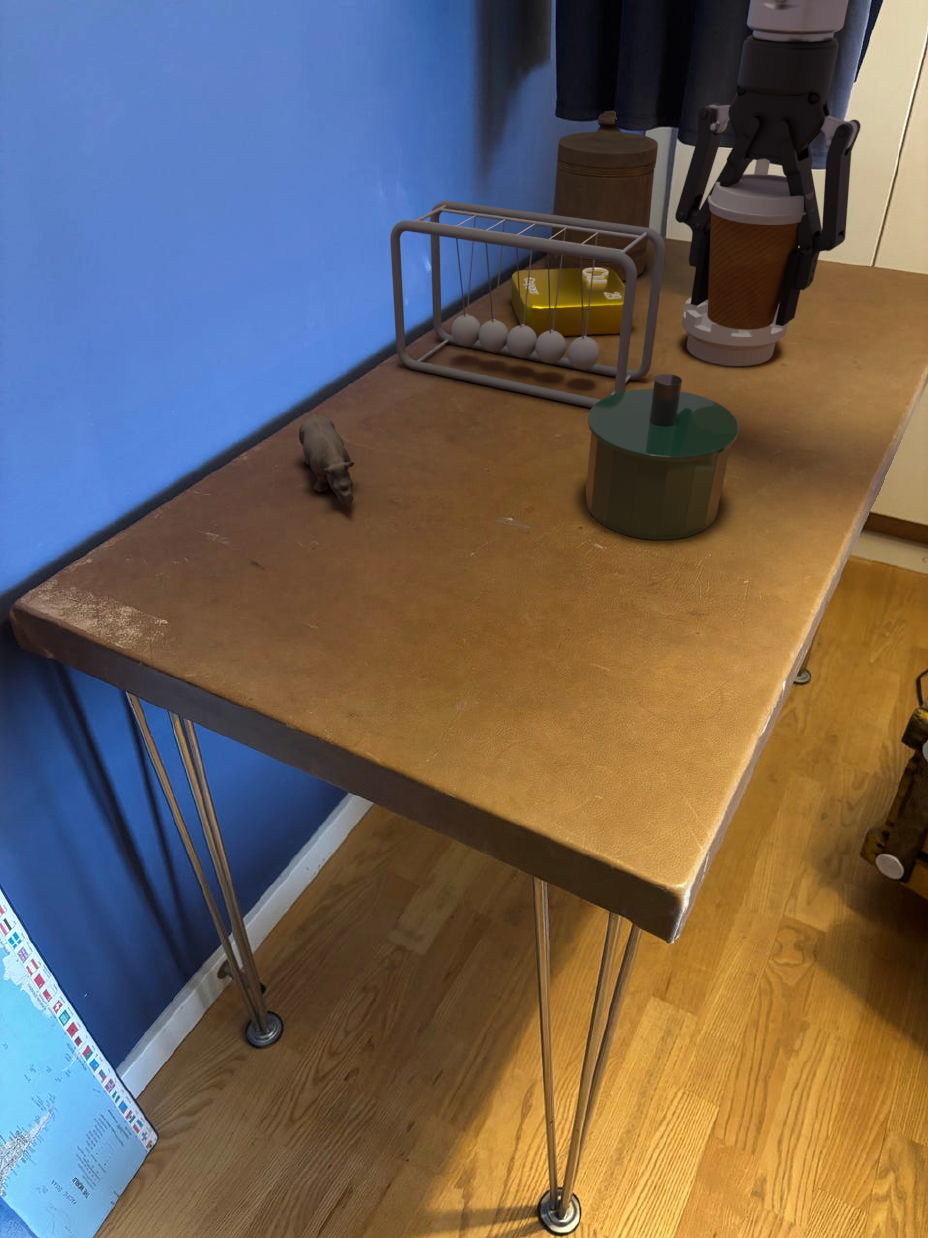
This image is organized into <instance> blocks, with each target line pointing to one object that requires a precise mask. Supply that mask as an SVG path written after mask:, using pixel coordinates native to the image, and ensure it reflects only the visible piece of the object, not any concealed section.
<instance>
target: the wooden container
mask: <svg viewBox="0 0 928 1238" xmlns="http://www.w3.org/2000/svg"><path fill="white" fill-rule="evenodd" d="M615 111H616V110H606V111H605V110H604V112H603V113H600V115H599V116H598V119H597V123H598V126H599V127H598V128H597V129H596V131H584V132H577V133H571V134H568V135H565V136H562V137H560V138H559V140H558V144H557V153H556V155H557V158H556V172H555V173H556V174H555V183H554V185H555V186H554V197H553V208H552V215H557V216H565V217H572V218H579V219H587V220H594V221H602V222H609V223H617V224H624V225H631V226H639V227H646V228H650V221H651V209H652V197H653V188H654V176H655V168H656V165H657V159H658V151H659V149H658V148H659V144H658V143H659V142H658V141H657V140H656V139H654V138H652V137H650V136H647V135H643V134H638V133H632V132H624V131H622V130H621V128H620V127H619V126H618V127H617V126H616V123H615V119H616V120H617V117H616V112H617V111H616V112H615ZM562 230H563V229H561V228H554V227H551V237H553V236H554V235H556V234H557V233H559V232H560V231H562ZM564 231H565V230H563V231H562V232H560V233H559V234H557V235H556V236H554V237H553V238H551V237H550V238H551V240H558V241H563V239H564ZM594 234H596V233H590V232H583V231H575V230H568V229H566V234H565V242H572V243H579V244H582V243H583V242H585V241H586V240H587V239H589V238H590V237H592V236H593V235H594ZM635 240H636V239H633V238H625V237H618V236H611V235H604V234H598V237H597V246H599V247H606V248H613V249H620V250H623V249H625V248H626V247H627V246H628V245H630V244H631V243H632V242H633V241H635ZM648 240H649V239H645V238H643V239H642V240H641V241H639V242H638V243H637V244H636V245H634V246H633V247H632V248H631V249H629V250H628V251H627V252H626V253H625V254H626V255H628V256H629V257H630V258H631V259H632V261H633V262H634V263H635V266H636V269H637V277H638V276H639V277H640V276H641V274H642V273H643V272H644V270H645V264H646V257H647V256H646V255H647V246H648ZM595 242H596V235H594V236H593V237H592V238H590V239H589V240H588V241H586V242H585V243H583V244H586V245H592V246H595ZM561 255H562V254H555V253H550V257H549V268H550V269H556V268H557V269H560V263H561ZM593 260H594V259H588V258H582V268H590V267H593ZM555 267H556V268H555ZM594 267H609V268H611V269H612V270H613V271H615V272H616V274H617V275H618V277H619V278H620V279H621V281H622V282H624V281H625V282H626V271H625V269H624V268H623V266H622V265H620V264H618V263H615V262H608V261H602V260H595V263H594ZM567 268H580V257H575V256H568V255H563V258H562V266H561V269H567Z"/></svg>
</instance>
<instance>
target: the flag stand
mask: <svg viewBox="0 0 928 1238" xmlns="http://www.w3.org/2000/svg"><path fill="white" fill-rule="evenodd" d="M770 163H771V161H769V160H767V159H760V160H755V165H754V166H755V167H754V172H753V174H768V175H769V169H770ZM778 308H779V306H778ZM707 313H708V300H706V301H704V302H703V303H701V304H700V305H698V306H696V305H692V304H691V297H689V298H688V299H686V301H685V302H684V307H683V315H682V322H681V325H682V328H683V330H685V332H686V333H687V334H688V335H687V342H686V349H687V351H688V352H689V353H690V354H691V355H692V356H694V357H695V358H697V359H699V360H701V361H704V362H706V363H711V364H715V365H719V366H726V367H727V366H728V367H751V366H756V365H760V364H763V363H766V362H767V361H769V360H770V359H771V358H772V357H773V355H774V351H775V347H776V343H777V342H778V341H780V340H781V339H783V338H784V337H785V336H786V333H787V329H788V326H789V322H788V323H787V324H785V325H784V326H779V325H775V323H776V318H777V313H778V309H777V312H776V315H775V318H774V321H773V323H772V324H771V325H770V326H768V327H765V328H761V329H754V330H738V329H732V328H726V327H723V326H720V325H718V324H715V323H713V322H712V321H711V320H709V318H708V316H707Z"/></svg>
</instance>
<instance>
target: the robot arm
mask: <svg viewBox="0 0 928 1238" xmlns="http://www.w3.org/2000/svg"><path fill="white" fill-rule="evenodd" d="M848 4H849V0H750V1H749V8H748V15H747V21H746V25H747V26H748V28H749V29H750V30H751V31H752V34H751V35H748V36H747V37H746V39H745V40H744V41H743V45H742V51H741V57H740V63H739V64H740V65H739V70H738V77H737V89H736V94H735V96H734V98H733V99H732V101H731V103H730V104H724V105H722V104H720V103H718V102H716V103H713V104H709V105H707V106H704V107H702V108H700V109H699V110H698V113H697V139H696V142H695V145H694V149H693V153H692V156H691V159H690V163H689V166H688V169H687V173H686V176H685V180H684V184H683V187H682V191H681V193H680V197H679V201H678V204H677V207H676V211H675V214H674V215H675V216H674V217H675V220H676V222H677V223H679V224H685V225H686V226H688V228H690V230H691V241H690V248H689V254H688V263H689V266H690V267H694V268H695V272H694V278H693V284H692V292H691V296H690V298H691V304H692V305H696V306H698V305H700V304H701V303H703V302H704V301H706V300H708V287H709V260H710V232H711V211H710V208H709V206H710V204H709V203H708V196H711V195H712V192H713V189H714V186H715V184H716V182H720V186H721V187H726V188H727V187H729V186H731V185H733V184H736V183H738V182H739V181H740V179H741V177H742V175H743V174H745V172H746V170H747V169H748V167H749V165H750V164H751V163H752V162H753V161H756V160H760V159H767V160H769V161H770V163H774V164H780V165H781V168H782V173H783V176H785V177H787V182H788V187H789V193H790V196H799V195H800V196H804V210H803V212H806V214H805V215H803V216H802V219H801V222H798V225H797V228H796V231H797V237H798V242H799V248H798V249H796V250H795V251H793V252H791V253H790V256H789V260H788V265H787V270H786V275H785V280H784V284H783V289H782V294H781V299H780V303H779V308H778V313H777V318H776V323H775V325H779V326H784V325H785V324H787V323H788V324H789V323H790V322H791V321H792V320H794V319H795V318H796V317H795V316H796V313H797V308H798V303H799V299H800V296H801V295H800V294H801V291H805V290H806V289H808V288H810V286H811V285H812V283H813V282H814V277H815V273H816V269H817V265H818V260H819V256H820V253H821V252H825V251H826V252H830V251H832V250H833V249H835V248H837V247H838V246H840V245H841V244H842V243H844V242H845V240H846V233H847V232H846V231H847V219H848V205H849V192H850V177H851V163H852V150H853V148H854V146H855V143H856V141H857V138H858V136H859V133H860V131H861V122H860V121H859V120H857V119H851V120H844V119H841V118H838V117H835V116H832V115H830V110H829V107H828V97H829V93H830V89H831V86H832V80H833V75H834V71H835V66H836V61H837V57H838V53H839V47H840V43H839V42H838V39H837V38H836V37H834V35H835V33H836V32H839V31H840V30H841V29H843V27H844V24H845V19H846V15H847V10H848ZM729 122H730V123H731V126H732V129H733V130H734V134H735V136H736V138H737V140H736V141H735V143H734V145H733V146H732V148H731V150H730V152H729V154H728V156H727V157H726V162H725V165H724V166H723V168H722V169H721V171H720V173H719V175H718V176H717V179H716V180H715V182H714V184H713V185H712V187H711V189H710V191H708V194H707V196H706V197H705V200H704V201H703V199H704V195H705V193H706V189H707V185H708V183H709V180H710V177H711V173H712V171H713V167H714V163H715V160H716V156H717V154H718V150H719V147H720V144H721V140H722V135H723V132H724V131H725V130H726V129H727V127H728V124H729ZM821 132H823V133H824V145H825V147H826V148H827V149H828V150H827V152H826V153H827V154H826V158H825V172H824V187H823V188H824V191H823V205H822V206H823V208H822V222H821V216H820V210H819V205H818V199H817V193H816V188H815V182H814V176H813V169H812V166H813V156H812V150H811V144H812V142H813V141H814V140H815V139H816V137H818V135H820V133H821ZM813 191H814V192H813ZM811 192H813V198H812V199H810V200H808V199H807V198H806V195H807V194H809V193H811ZM702 202H703V203H702ZM814 208H815V209H814ZM812 209H814V210H813V211H811V210H812Z"/></svg>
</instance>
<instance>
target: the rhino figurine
mask: <svg viewBox="0 0 928 1238" xmlns="http://www.w3.org/2000/svg"><path fill="white" fill-rule="evenodd" d="M298 440H299V442H300V444H301V446H302V453H303V455H304V457H303V459H302V463H304V464H306V465H307V466H309V467H310V469H311V471H312V472H313V474H314V475H315V476H316V478H317V481H316V482H315V484H314V486H313V489H314V490H315V491H317V492H318V493H321V492H326V491H327V490H328V489H329V487H328V484H329V486H330V488H331V490H332V492H334V493H335V495H336V497H337V499H338V501H339V503H340V504H342V505H343V506H346V507H348V506H350V505H351V504H352V503H353V502H354V495H353V481H352V479H351V473H350V472H349V468H351V467H353V466H354V465H355V462H354V460H351V457H350V455H349V454H350V453H349V452H348V450H347V449H346V447H345V442H344V440H343V438H342V437H341V435H340V434H339V433H338V431H337V430H336V427H335V424H334V422H333V420H331V419H330V418H328V417H327V416H323V415H320V414H315V413H312V414H311V415H310V416H309V417H308V418H306V419H305V420H304V421H303V422H302V423H301V424H300V427H299V429H298ZM327 482H328V483H327Z"/></svg>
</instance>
